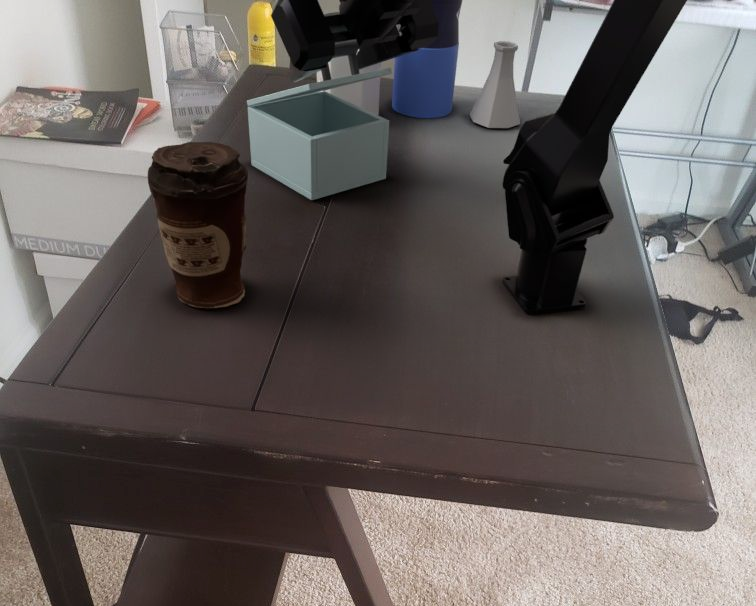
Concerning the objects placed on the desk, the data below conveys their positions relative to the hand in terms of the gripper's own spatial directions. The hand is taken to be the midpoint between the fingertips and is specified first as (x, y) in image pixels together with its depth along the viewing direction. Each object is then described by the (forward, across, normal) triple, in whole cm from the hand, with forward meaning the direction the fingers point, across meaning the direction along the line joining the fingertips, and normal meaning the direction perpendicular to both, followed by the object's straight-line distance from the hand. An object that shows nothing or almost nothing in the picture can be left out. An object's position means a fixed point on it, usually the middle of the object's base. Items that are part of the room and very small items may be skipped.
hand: (325, 71), depth 84 cm
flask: (+10, -33, +7) cm, 35 cm away
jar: (+19, -16, -3) cm, 25 cm away
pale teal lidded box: (+9, 0, +7) cm, 12 cm away
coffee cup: (-3, +26, +20) cm, 33 cm away
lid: (+3, 0, +1) cm, 3 cm away
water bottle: (+17, -28, 0) cm, 33 cm away
